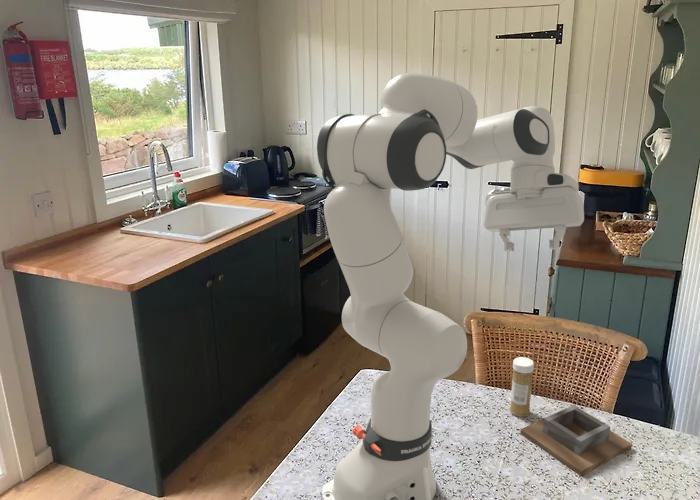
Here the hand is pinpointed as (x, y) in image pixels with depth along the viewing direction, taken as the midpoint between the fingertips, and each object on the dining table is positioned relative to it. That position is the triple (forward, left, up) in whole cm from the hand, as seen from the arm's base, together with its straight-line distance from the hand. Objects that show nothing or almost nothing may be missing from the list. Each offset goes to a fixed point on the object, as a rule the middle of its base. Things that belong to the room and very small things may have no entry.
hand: (531, 250), depth 117 cm
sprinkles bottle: (+4, +3, -42) cm, 42 cm away
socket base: (+6, -11, -42) cm, 43 cm away
